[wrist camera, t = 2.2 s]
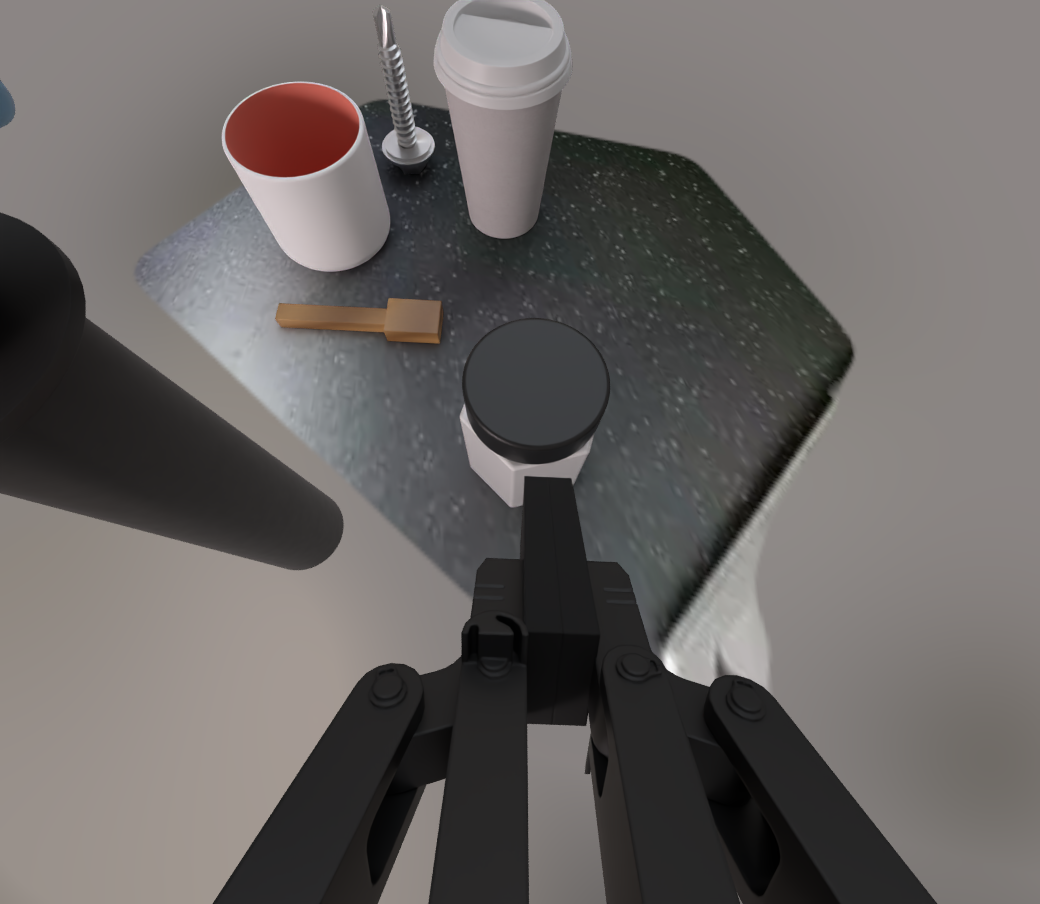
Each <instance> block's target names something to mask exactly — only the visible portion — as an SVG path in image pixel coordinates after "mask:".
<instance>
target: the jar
mask: <svg viewBox="0 0 1040 904" xmlns="http://www.w3.org/2000/svg"><path fill="white" fill-rule="evenodd" d="M462 390H463V396H464V402H465V403H464V406H463V409H462V412H461V414H460V421H461V426H462V430H463V435H464V440H465V444H466V449H467V453H468V458H469V463H470V467H471V468H472V469H473V470H474V471H475V472H476V473H477V474H478V475H479V476H480V477H481V478H482V479H483V480H484V481H485V482H486V483H487V484H488V485H489V486H490V487H491V488H492V489H493V490H494V491H495V492H496V493H497V494H498V495H499V496H500V497H501V498H502V499H503V500H504V501H505V502H506V503H507V504H508V505H509V506H510V507H512V508H513V507H517V506H521V505H523V492H524V476H536V477H558V478H571V479H572V484H573V485H574V483H575V481H576V479H577V477H578V475H579V473H580V471H581V469H582V467H583V465H584V462H585V460H586V458H587V456H588V454H589V452H590V448H591V444H592V440H593V436H594V433H595V431H596V429H597V427H598V425H599V423H600V420H601V418H602V416H603V414H604V412H605V409H606V407H607V404H608V400H609V394H610V378H609V373H608V369H607V366H606V363H605V361H604V359H603V357H602V355H601V353H600V352H599V350H598V349H597V348H596V346H595V345H594V344H593V343H592V342H591V341H590V340H589V339H588V338H587V337H586V336H584V335H583V334H582V333H580V332H579V331H577V330H576V329H574V328H572V327H570V326H568V325H566V324H563V323H561V322H557V321H554V320H549V319H541V318H527V319H520V320H515V321H511V322H508V323H505V324H503V325H501V326H499V327H497V328H495V329H493V330H492V331H490V332H489V333H487V334H486V335H485V336H484V337H483V338H482V339H481V340H480V341H479V342H478V343H477V344H476V345H475V346H474V348H473V349H472V351H471V352H470V354H469V356H468V358H467V361H466V363H465V367H464V371H463V377H462Z"/></svg>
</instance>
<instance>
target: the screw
mask: <svg viewBox="0 0 1040 904" xmlns="http://www.w3.org/2000/svg"><path fill="white" fill-rule="evenodd" d="M373 17H374V21H375V26H376V31H377V35H378V40H379V44H378V46H377V48H378V49H379V50H380V53H379V54H378V57H379V58H380V59H381V62H380V65H381V67H382V68H383V69H382V74H383V75H384V76H385V77H384V82H385V83H386V85H385V89H386V90H387V91H388V92H387V97H388V98H390V99H389V100H388V102H389V104H390V105H391V106H390V110H391V112H392V114H391V116H392V118H393V119H394V120H393V124H394V125H395V127H394V130H393V131H391V132H390V133H389V134H388V135H387V136H386V137H385V139H384V141H383V144H382V150H383V153H384V156H385V157H386V159H387V160H388V161H389V162H391V163H392V164H394V165H396V166H399V167H400V168H401V170H402V171H403V173H404V174H420V172H421V171H422V170H423V169H424V168H425V166H426V165H427V163H426V162H427V161H429V160H430V159H431V157H432V156H433V154H434V151H435V143H434V140H433V138H432V136H431V135H430V134H429V133H428V132H426V131H425V130H423V129H421V128H418V127H415V122H414V120H413V119H414V117H413V114H412V108H411V101H410V95H409V93H408V91H409V89H408V86H407V79H406V78H405V77H406V73H405V71H404V64H403V56H402V55H401V48H400V46H399V45H398V44H397V43H396V38H395V34H394V28H393V22H392V17H391V11H390V9H389V8H387V7H385V6H382V5H379V6H377V7H376V8H375V9H374V10H373Z"/></svg>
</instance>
